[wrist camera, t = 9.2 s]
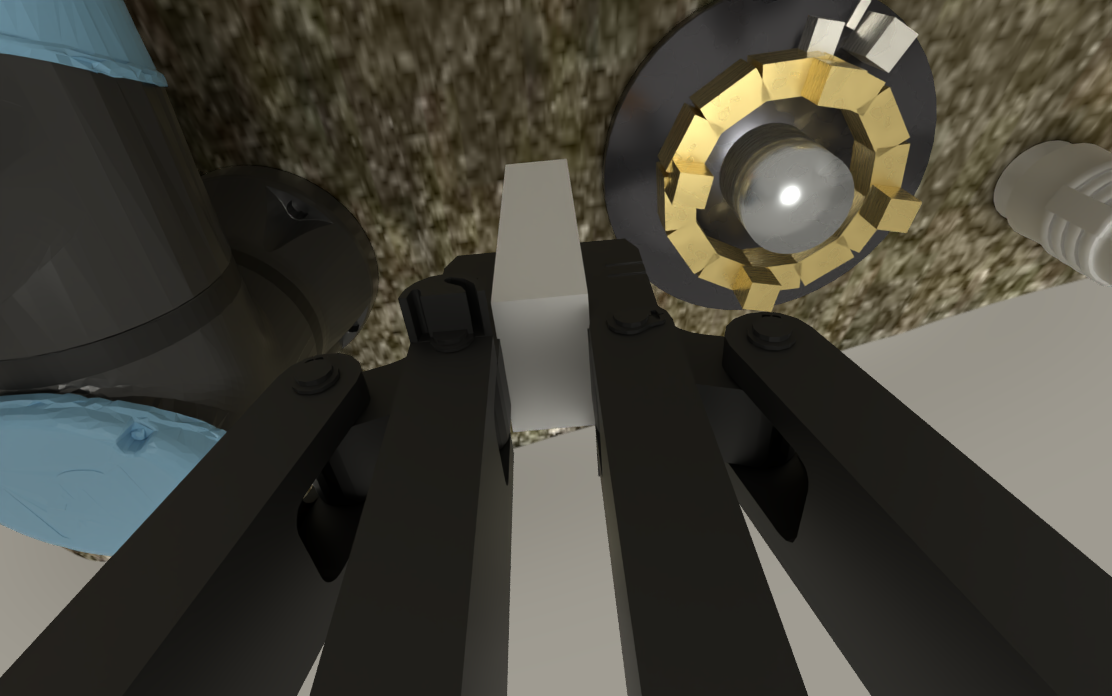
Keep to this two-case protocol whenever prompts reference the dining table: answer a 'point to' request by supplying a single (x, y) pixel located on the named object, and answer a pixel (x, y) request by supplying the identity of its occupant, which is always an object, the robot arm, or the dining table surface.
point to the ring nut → (737, 96)
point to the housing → (759, 138)
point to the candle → (1063, 203)
